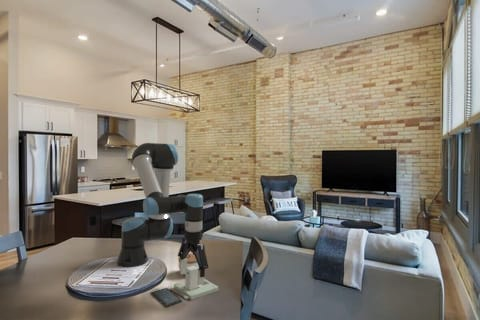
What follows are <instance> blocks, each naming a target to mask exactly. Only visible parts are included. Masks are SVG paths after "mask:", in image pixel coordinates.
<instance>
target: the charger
mask: <svg viewBox="0 0 480 320" xmlns="http://www.w3.org/2000/svg"><path fill="white" fill-rule="evenodd" d="M198 269H199V268H197V267H195V266H190V267H186V273H185V275H184V276H185V279H184V281H185V289H187V290H188V291H192V290H195V289H198Z"/></svg>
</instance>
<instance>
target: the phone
mask: <svg viewBox="0 0 480 320" xmlns="http://www.w3.org/2000/svg"><path fill="white" fill-rule="evenodd" d="M167 288H168V287H164V288H161V289H158V290H154V291H151V292H150V294H151V296H153V297H154V298H155V299H156V300H157V301H158V302H160V303H161V304H162V305H163V306H164V307H165V308H169V307H172V306H175V305H178V304H180V303H181V304H182V303H183V299H181V298H180V297H179V296H177V294H176V293H174V292H172V291H170V290H168V289H167Z"/></svg>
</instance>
